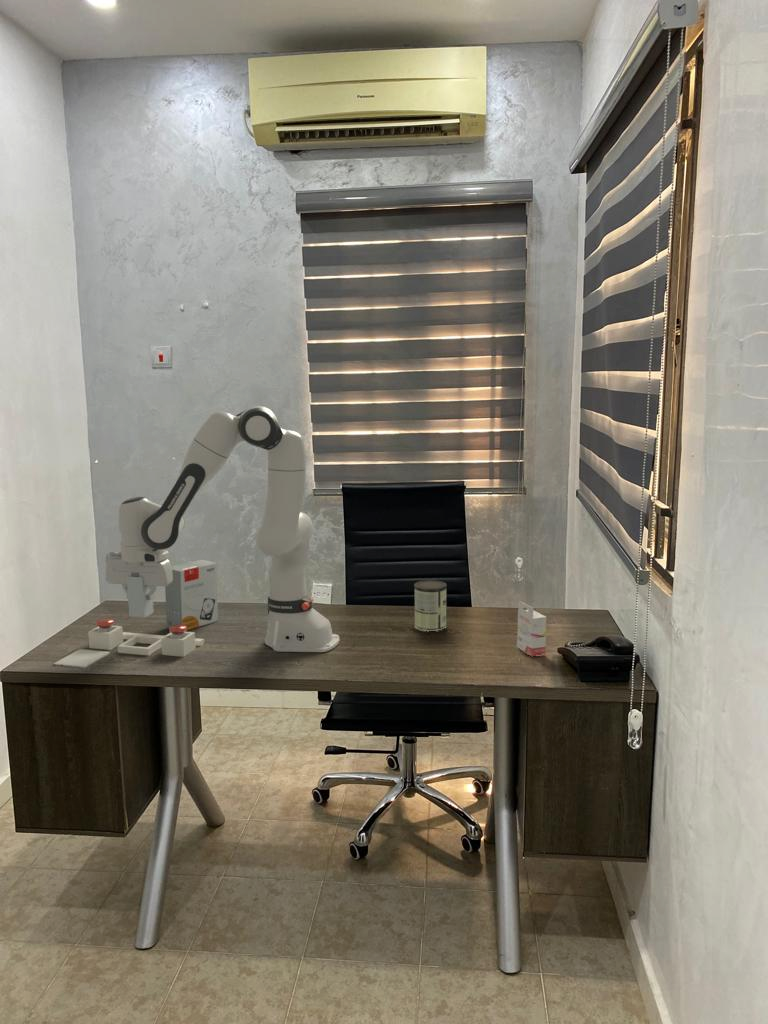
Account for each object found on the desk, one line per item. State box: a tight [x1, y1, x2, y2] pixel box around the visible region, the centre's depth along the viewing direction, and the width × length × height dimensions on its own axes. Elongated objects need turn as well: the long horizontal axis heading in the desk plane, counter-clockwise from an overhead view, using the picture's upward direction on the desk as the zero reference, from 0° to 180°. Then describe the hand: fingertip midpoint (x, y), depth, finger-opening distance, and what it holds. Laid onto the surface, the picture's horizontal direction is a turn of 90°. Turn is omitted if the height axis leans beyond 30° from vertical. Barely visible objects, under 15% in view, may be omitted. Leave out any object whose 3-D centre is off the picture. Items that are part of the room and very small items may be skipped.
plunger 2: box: [168, 624, 188, 639], centre depth 235 cm, size 5×5×7 cm
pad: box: [53, 648, 111, 669], centre depth 230 cm, size 10×12×1 cm
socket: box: [117, 631, 205, 656], centre depth 240 cm, size 32×13×2 cm, turn 76°
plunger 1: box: [95, 617, 115, 632], centre depth 241 cm, size 5×5×7 cm
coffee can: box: [413, 579, 448, 633], centre depth 256 cm, size 10×10×14 cm
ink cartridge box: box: [516, 600, 547, 656], centre depth 233 cm, size 9×5×15 cm, turn 21°
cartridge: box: [126, 573, 155, 618], centre depth 236 cm, size 5×5×13 cm
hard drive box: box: [164, 559, 219, 631], centre depth 259 cm, size 16×8×20 cm, turn 143°
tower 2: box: [161, 631, 197, 658], centre depth 235 cm, size 7×7×5 cm
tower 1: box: [87, 625, 124, 651], centre depth 241 cm, size 7×7×5 cm
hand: (140, 599), depth 236 cm, fingers closed on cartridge, 5 cm apart
